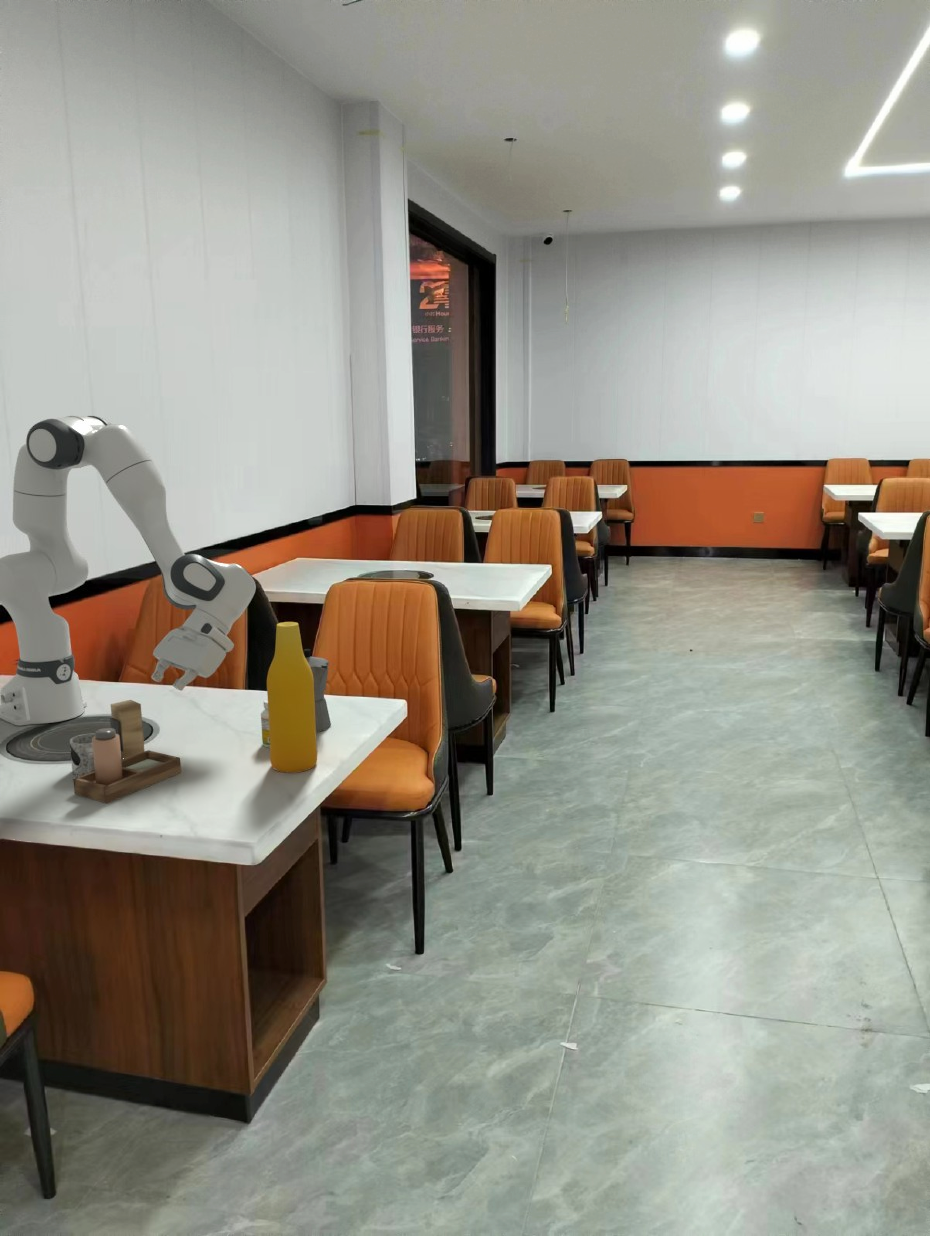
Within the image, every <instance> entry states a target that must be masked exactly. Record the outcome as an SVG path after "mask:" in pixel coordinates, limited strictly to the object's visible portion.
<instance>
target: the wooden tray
mask: <svg viewBox="0 0 930 1236" xmlns="http://www.w3.org/2000/svg"><path fill="white" fill-rule="evenodd" d="M144 751H145V750H144ZM121 761H122V773H123V779H122V780H119V781H117V782H114V783H112V784H109V785H107V786H106V785H102V784H99V783H96V777H95V771H92V772H90V773H87V774H84V775H82V776H76V777H75V778H72V782H73V791H74V792H73V793H74V795H77V796H80V797H84V798H87V799H90V798H91V799H90V800H95V801H99V802H101V803H104V804H105V803H106V804H109V803H111V802H114V801H116V800H118V798H119V799H121V798H123V797H125V796H128V795H131V794H132V793H135V792H137V791H140V790H142V789H145V788H146V787H150V786H152V785H154V784H156V783H159V782H161V781H163V780H166V779H169V778H170V777H173V776H175V775H178V774H180V773H182V763H181V762H182V761H181V757H178V756H173V755H171V754H170V755H169V754H165V753H163V752H162V753H161V752H157V751H152V750H150V749H149V750H146V751H145V752H142V753H140V754H137V755H134V756H132V757H129V758H127V759H121Z"/></svg>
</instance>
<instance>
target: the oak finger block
mask: <svg viewBox="0 0 930 1236" xmlns="http://www.w3.org/2000/svg"><path fill="white" fill-rule="evenodd" d="M110 714H111V717H110V718H109V721H110V728H113V729H115V731H116V734H118V735H119V738H120V750H121V759H122V758H124V759H127V758H129V757H132V756H134V755H137V754H140V753H142V752H145V741H144V730H143V729H144V728H143V717H142V716H143V714H142V703H139V702H137V701H134V700H132V699H128V700H123V701H120V702H115V703H111V704H110ZM124 759H123V760H124Z"/></svg>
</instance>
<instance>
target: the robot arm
mask: <svg viewBox="0 0 930 1236" xmlns="http://www.w3.org/2000/svg"><path fill="white" fill-rule="evenodd" d="M17 454H18V455H17V458H16V464H15V467H14V469H15V470H14V476H13V487H12V488H13V492H12V494H13V495H12V496H13V497H12V521H13V524H14V526H15V528H17V529H18V530H19V531H20V532H21V533H24V534H25V535H27V538H28V541H29V547H30V548H29V551H24V552H18V553H12V554H7V555H5V556H3V557H0V605H1V606H3V607H4V608H5V610H6V611H7V612H8V614H9V615H10V617H11V619H12V621H13V624H14V626H15V631H16V636H17V643H18V650H19V659H14V660H13V662H15V663H14V664H13V666H16V665H17V666H16V674H15V675H14V676H13V677H12V678H11V679H10V680H9V681H8V682H6V684H4V685H3V686H2V687H1V689H0V719H1V720H3V721H5V722H7V723H9V724H12V725H14V726H26V725H28V726H29V725H32V724H33V725H35V724H37V725H39V724H49V723H58V722H64V721H67V720H72V719H74V718H77V717H79V716H81V715H82V714H83V713H84V712H85V707H87V700H85V699H83V694H82V688H81V683H80V680H79V675H78V673H76V672H75V669H76V666H75V663H76V660H75V657H74V656H75V655H74V653H72V647H71V636H70V635H71V634H70V626H69V622H68V621H67V620H66V618H64V617H63V616H61V615H59V614H58V613H55V612H54V611H53V609H52V607H51V604H50V600H49V597H53V596H57V595H61V594H66V593H69V592H71V591H74V590H75V589H77V588H79V587H80V586H82V585H84V584H85V582H86V581H87V579H88V576H89V565H88V564H89V563H88V560H87V558H86V557H85V555H84V554H83V552H81V551H80V550H78V549H77V547H75V545H74V544H73V541H72V539H71V537H70V534H69V531H68V524H67V523H68V522H67V521H68V520H67V514H68V512H67V506H68V505H67V504H68V497H67V496H68V478H69V473H70V471H71V470H72V469H81V468H84V467H87V466H92V467H94V468H95V470H97V472H98V473H99V475H100V477H101V479H102V480H103V482H104V483H105V485H106V487H107V489H108V490H109V492H110V494H111V495H112V496H113V498H114V500H115V501H116V502H117V504H118V505H119V506H120V507H121V509H122V511H124V513H125V514H126V516H127V517H128V518H129V520H130V521H131V522H132V523H133V525H134V526H135V528H136V530H137V531H138V532H139V533H140V535H141V537H142V539H143V541H144V542H145V544H146V546H147V548H148V550H149V552H150V554H151V555H152V557H153V559H154V561H155V563H156V565H157V566H158V569H159V570H160V572H161V578H162V587H163V593H164V596H165V598H166V600H167V601H168V602H169V603H170V604H171V605H172V606H174V607H175V608H177V609H180V610H184V611H185V610H187V611H188V610H189V611H191V610H192V612H191V613H190V615H189V616H188V618H186V620H185V621H184V623H183V624H182V625H180V626H179V627H177V628H176V627H175V628H174V629H172V630H170V631H169V632H168V633H167V634H166V635H165V636H164V637H163V639H162V640H161V641H160V642H159V643H158V644H157V646H156V647H155V648H154V649H153V653H152V656H153V657H154V658H156V659H157V660H158V661H157V663H156V666H155V669H154V672H153V673H152V674H151V680H153V681H155V682H157V683H161V681H162V680H163V679H164V678H165V675H164V673H165V671H166V670H168V669H169V667H171V666H172V667H173V668H177V669H180V670H182V671H184V674H183V675H182V676H181V677H180V678H176V679H175V681H174V683H173V684H172V685H173V686H172V687H174V688H175V689H176V690H178V691H181V692H182V691H184V689H185V687H186V686H187V685H188V684H190V683H191V682H193V681H194V680H195V679H196V678H197V677H198V676H199V677H202V678H204V679H206V678H209V677H211V676H213V674H214V673H215V672H216V671H217V669H218V668H219V667H220V665H221V664H222V663H223V661H224V660H225V658H226V656H227V653H229V652H231V651H232V650H233V648H234V647H235V643H234V642H233V641H232V640H231V639H230V638H229V637H228V636H227V635H229V633H230V631H231V629H232V627H233V624H234V623H235V622H236V621H237V620H238V619H239V618H240V617H241V616H242V615H243V614H244V612H245V611H246V609H247V607H249V604H250V603H251V601H252V599H253V598H254V595H255V593H256V589H257V586H256V581H255V579H254V577H253V576H252V574H251V573H250V572H249V571H247V569H246V568H245V567H243V566H241V565H240V564H238V563H224V562H223V563H222V562H219V561H214V560H211V559H208V558H206V557H203V556H202V555H199V554H196V553H189V554H188V553H187V554H186V553H185V552H184V551H183V549H182V547H181V545H180V543H179V541H178V539H177V537H176V536H175V534H174V532H173V530H172V528H171V526H170V523H169V520H168V516H167V491H166V486H165V484H164V482H163V479H162V476H161V473H160V471H159V469H158V467H157V466H156V464H155V463H154V461H153V459H152V458H151V456H150V453H148V451H147V449H146V448H145V447H144V446H143V444H142V442H140V440H139V439H138V438H137V436H136V435H135V434H134V433H133V432H132V431H131V430H130V429H129V428H128V427H127V426H125V425H122V424H117V423H116V424H114V423H113V424H112V423H111V422H110V421H108V420H107V419H106V418H105V419H104V417H103V418H102V417H99V416H95V415H87V416H84V415H67V416H65V417H64V416H63V417H57V418H47V419H44V420H40V421H39V422H37V423H35V424H33V425H32V427H30V429H28V432H27V435H26V440H25V444H23V445H22V446H21V447H20V449H19V451H18V453H17Z"/></svg>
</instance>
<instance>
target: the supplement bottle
mask: <svg viewBox="0 0 930 1236" xmlns="http://www.w3.org/2000/svg"><path fill="white" fill-rule="evenodd" d="M263 708H264V709H263V710H261V713H260V719H261V720H260V723H261V741H262V746H264V747H265V746H266V748H270V733H269V714H268V698H266V699H264V700H263Z"/></svg>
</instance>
